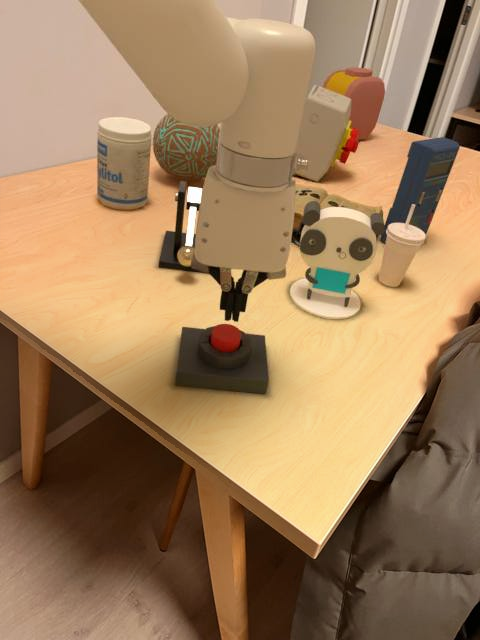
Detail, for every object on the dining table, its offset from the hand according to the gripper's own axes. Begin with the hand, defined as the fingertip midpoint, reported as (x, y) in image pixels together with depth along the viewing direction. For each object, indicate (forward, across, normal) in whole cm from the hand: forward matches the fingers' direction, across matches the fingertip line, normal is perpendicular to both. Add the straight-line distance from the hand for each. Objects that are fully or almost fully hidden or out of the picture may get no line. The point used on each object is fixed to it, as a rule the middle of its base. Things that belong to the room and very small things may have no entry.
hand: (231, 314), depth 63 cm
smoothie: (+9, -29, -27) cm, 40 cm away
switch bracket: (+8, +6, -28) cm, 30 cm away
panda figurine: (+8, -16, -19) cm, 26 cm away
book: (+8, -17, -44) cm, 48 cm away
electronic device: (+9, -36, -44) cm, 57 cm away
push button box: (+8, 0, 0) cm, 8 cm away
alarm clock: (+9, -36, -114) cm, 120 cm away
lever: (+2, +6, -25) cm, 26 cm away
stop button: (+4, 0, 0) cm, 4 cm away
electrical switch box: (+9, -23, -78) cm, 82 cm away
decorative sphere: (+8, +9, -62) cm, 63 cm away
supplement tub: (+8, +20, -46) cm, 51 cm away
